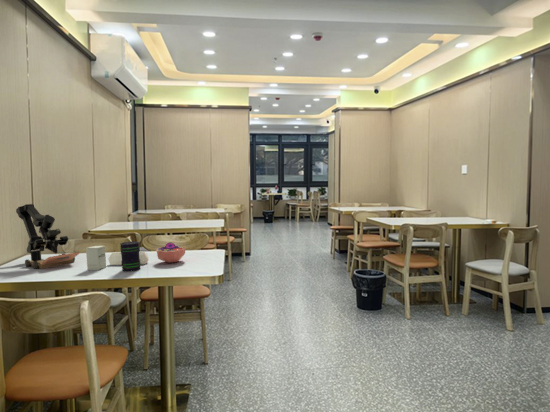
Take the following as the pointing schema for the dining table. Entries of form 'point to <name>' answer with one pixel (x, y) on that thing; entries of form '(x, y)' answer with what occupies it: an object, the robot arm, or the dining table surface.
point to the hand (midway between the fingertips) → (56, 253)
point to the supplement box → (96, 257)
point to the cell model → (170, 253)
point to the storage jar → (130, 256)
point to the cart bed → (39, 264)
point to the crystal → (117, 258)
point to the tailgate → (60, 258)
